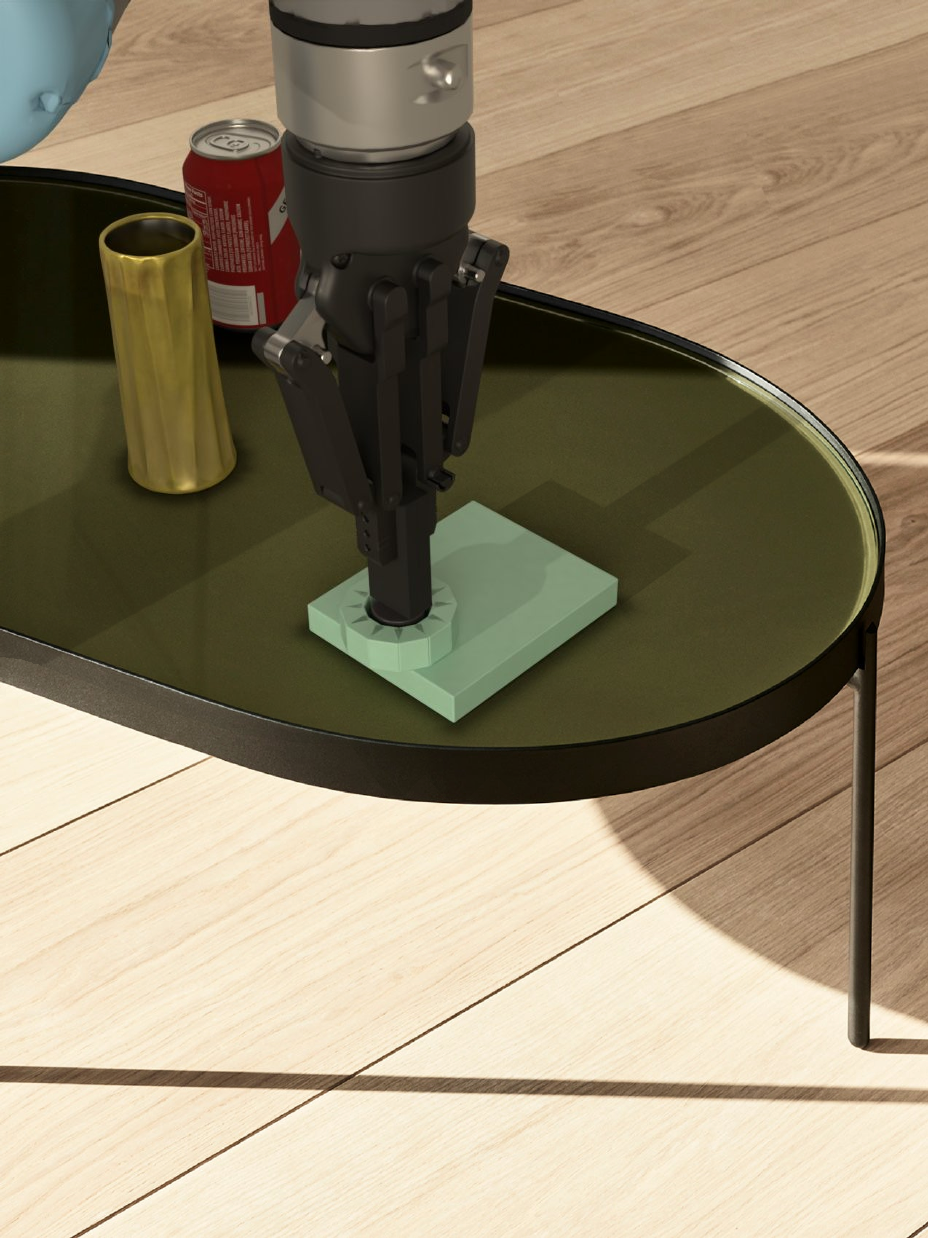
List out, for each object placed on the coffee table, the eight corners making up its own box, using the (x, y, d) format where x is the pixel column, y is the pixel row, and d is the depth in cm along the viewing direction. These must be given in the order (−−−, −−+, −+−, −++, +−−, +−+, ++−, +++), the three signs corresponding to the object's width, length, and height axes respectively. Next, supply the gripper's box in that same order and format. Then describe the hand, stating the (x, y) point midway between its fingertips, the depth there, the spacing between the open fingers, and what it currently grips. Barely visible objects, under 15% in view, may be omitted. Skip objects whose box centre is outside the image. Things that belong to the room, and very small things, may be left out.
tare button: (399, 654, 79) (398, 629, 78) (361, 630, 81) (359, 605, 80) (437, 628, 81) (437, 603, 80) (399, 605, 82) (398, 580, 81)
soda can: (262, 351, 105) (244, 170, 97) (178, 322, 107) (155, 144, 100) (326, 305, 109) (314, 128, 101) (244, 279, 112) (226, 105, 104)
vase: (231, 495, 93) (202, 261, 84) (120, 497, 93) (79, 263, 84) (242, 434, 97) (215, 206, 88) (136, 435, 97) (99, 208, 88)
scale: (435, 737, 78) (433, 681, 75) (290, 642, 83) (284, 587, 81) (617, 604, 85) (620, 549, 83) (473, 525, 90) (472, 471, 88)
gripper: (319, 209, 59) (356, 705, 74) (562, 98, 66) (551, 570, 81) (182, 149, 63) (244, 631, 78) (426, 50, 70) (439, 509, 85)
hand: (400, 600), depth 79 cm, fingers closed
